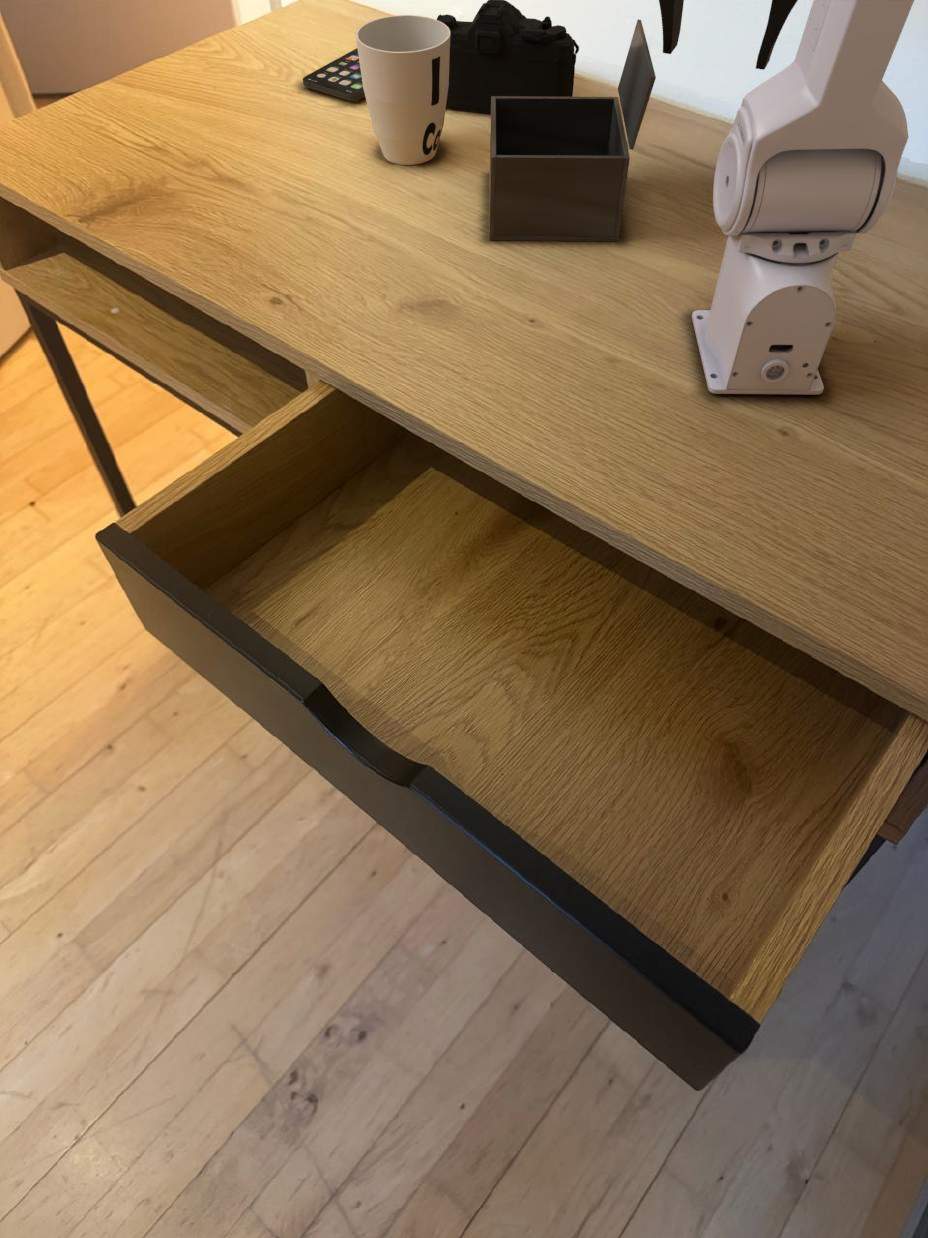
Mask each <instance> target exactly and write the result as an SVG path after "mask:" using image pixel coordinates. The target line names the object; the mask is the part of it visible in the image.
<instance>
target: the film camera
mask: <svg viewBox="0 0 928 1238" xmlns="http://www.w3.org/2000/svg"><path fill="white" fill-rule="evenodd" d="M436 20H438V21H440V22H442V23H444V24H445V25H447V26H448V28H449V29H450V60H449V86H448V94H447V101H446V109H447V110H448V109H449V110H456V111H461V112H462V111H463V112H473V113H480V114H489V115H491V96H539V97H574V86H575V85H574V84H575V70H576V62H577V55H578V53H579V52H580V46H579V45H578V44H577V41H576V40H575V39H574V38H573V37H572V35H570V33H568V32H567V28H566V27H565V26H564V25H559V24H557V25H553V24H552V22H553V21H552V20H551V17H550V16H545V17H544V19H543V20H540V19H537V18H531V17H530V18H528V17H526V15H524V14H522V11H521V10H520V9H519V8H517V7H516V6H515V5H513V4H512V3H511V2H509V1H508V0H486V2H483V3H482V5H481V6H480V7H479V9H478V10H477V12H476V14H475V16H474V18H473V19H472V21H464V20H463V21H461V20H457V18H456V17H455V16H454V15H451V14H438V15H437V17H436Z"/></svg>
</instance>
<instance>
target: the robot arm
mask: <svg viewBox="0 0 928 1238" xmlns="http://www.w3.org/2000/svg"><path fill="white" fill-rule="evenodd" d="M798 1H799V0H771V5H770V9H769V14H768V18H767V19H768V20H767V23H766V27H765V28H766V29H765V31H764V35H763V37H762V41H761V44H760V48H759V52H758V54H757V59H756V62H755V63H756V65H755V69H757V70H762V71H763V70H765V69H766V68H767V66H768V64H769V62H770V60H771V57H772V54H773V50H774V48H775V46H776V43H777V40H778V39H779V38H778V37H779V36H780V33H781V31H782V30H783V27H784V25H785V23H786V20H787V19H788V17H789V16H790V14H791V12H792V10H793V9H794V7H795V6H796V4H797V2H798ZM684 2H685V0H658V4H659V8H660V16H661V27H662V53H663V54H667V55H671V54H672V53H673V52H674V50H675V49H676V48H677V46H678V43H679V40H680V39H679V38H680V33H681V28H682V20H683V10H684ZM914 3H915V0H812V4H811V7H810V10H809V13H808V16H807V20H806V22H805V27H804V29H803V32H802V35H801V39H800V42H799V45H798V48H797V52H796V55H795V58H794V61H793V62H791V63H790V64H789V65H787V66H786V67H785V68H784V69H782V70H781V71H779V72H777V73H776V74H774V75H773V76H772V77H770V78H769V79H767V80H765V81H764V82H762V83H761V84H760V85H758V86H757V87H755V88H754V89H752V90H751V91H749V92H748V93H747V94H746V95H744V97H743V98H742V101H741V104H740V107H739V108H737V109H738V110H737V111H736V115H735V118H734V120H733V124H732V126H731V129H730V131H729V133H728V134H727V136H726V138H724V141H723V142H722V144H721V147H720V149H719V152H718V156H717V160H716V164H715V169H714V175H713V176H714V177H713V187H712V188H713V189H712V205H713V207H712V208H713V214H714V215H713V216H714V219H715V222H716V224H717V225H718V226H719V228H720V230H721V231H722V233H723V234H724V235H725V236H727V240H726V244H725V248H724V252H723V256H722V261H721V264H720V269H719V272H718V276H717V281H716V285H715V289H714V293H713V296H712V297H713V298H712V301H711V306H710V309H696V310H694V311H693V312H692V314H691V321H692V325H693V329H694V333H695V337H696V343H697V347H698V351H699V356H700V359H701V364H702V369H703V372H704V378H705V381H706V386H707V390H708V392H710V393H711V394H717V395H809V396H810V395H812V396H813V395H814V396H818V395H821V394H822V393H823V391H824V389H825V386H824V382H823V380H822V377H821V374H820V372H819V366H820V364H821V361H822V359H823V356H824V353H825V351H826V348H827V345H828V342H829V340H830V337H831V334H832V332H833V329H834V326H835V323H836V319H837V305H836V300H835V297H834V292H833V273H834V268H835V266H836V263H837V259H838V257H839V254H840V253H841V252H846V251H847V252H848V251H851V250H852V247H853V244H854V242H855V239H856V236H857V234H859V235H862V234H866V233H868V232H870V231H871V230H872V229H873V228H874V227H875V226H876V225H877V224H878V222H879V221H880V220H881V218H882V217H883V216H884V214H885V213H886V211H887V209H888V208H889V206H890V204H891V201H892V198H893V195H894V191H895V188H896V185H897V184H896V183H897V179H898V170H899V167H900V163H901V160H902V156H903V154H904V150H905V149H906V146H907V143H908V139H909V129H908V122H907V121H908V120H907V116H906V113H905V110H904V107H903V105H902V103H901V101H900V100H899V98H898V96H897V95H896V94H895V93H894V92H893V91H892V90H891V88H889V86H888V85H887V84H886V83H885V82H884V81H883V80H884V77H885V74H886V71H887V69H888V66H889V64H890V62H891V59H892V56H893V54H894V51H895V50H896V47H897V44H898V42H899V39H900V37H901V34H902V32H903V29H904V27H905V24H906V22H907V19H908V17H909V15H910V12H911V10H912V7H913V4H914Z"/></svg>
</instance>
